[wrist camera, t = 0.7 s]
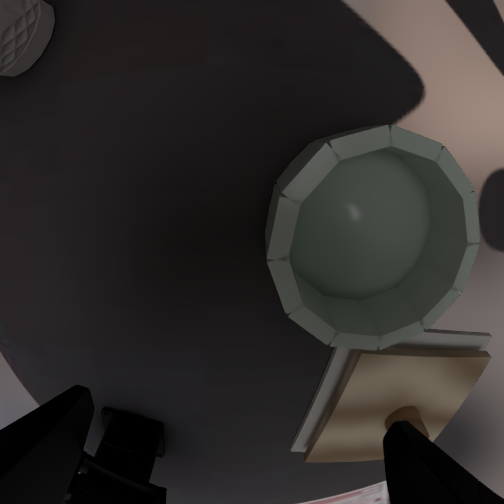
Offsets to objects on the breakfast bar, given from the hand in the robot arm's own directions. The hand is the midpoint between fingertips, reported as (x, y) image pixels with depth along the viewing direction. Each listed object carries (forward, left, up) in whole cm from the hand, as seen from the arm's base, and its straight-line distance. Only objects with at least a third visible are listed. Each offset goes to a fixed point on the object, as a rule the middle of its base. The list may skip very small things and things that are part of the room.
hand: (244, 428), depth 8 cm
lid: (-12, -15, -13) cm, 23 cm away
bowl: (+3, -6, -13) cm, 15 cm away
